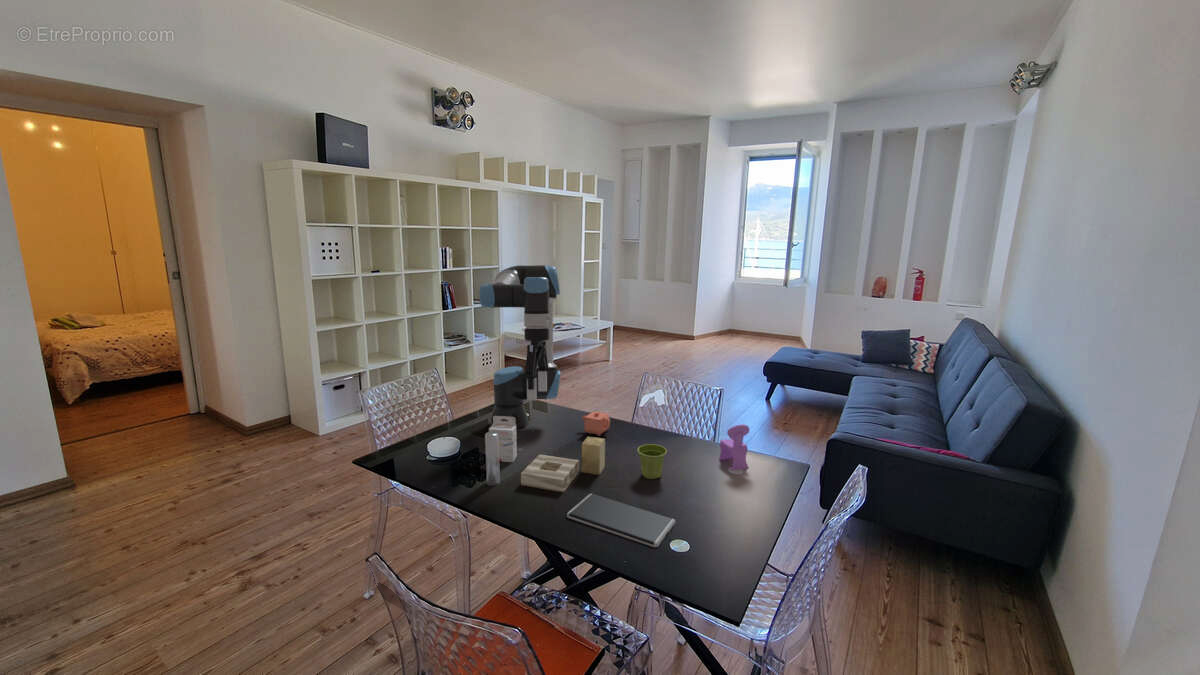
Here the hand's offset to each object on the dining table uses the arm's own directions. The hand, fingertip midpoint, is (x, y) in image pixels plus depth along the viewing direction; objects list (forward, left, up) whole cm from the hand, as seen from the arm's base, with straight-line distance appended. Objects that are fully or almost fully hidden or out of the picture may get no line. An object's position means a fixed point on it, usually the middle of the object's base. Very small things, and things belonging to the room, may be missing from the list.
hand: (537, 395), depth 153 cm
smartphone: (+17, +32, -27) cm, 45 cm away
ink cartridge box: (-7, -16, -27) cm, 32 cm away
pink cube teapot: (-40, +7, -27) cm, 49 cm away
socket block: (+1, +5, -27) cm, 27 cm away
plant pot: (-11, +35, -27) cm, 45 cm away
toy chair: (-28, +60, -27) cm, 71 cm away
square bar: (-9, +16, -27) cm, 32 cm away
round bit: (+9, -11, -27) cm, 30 cm away
